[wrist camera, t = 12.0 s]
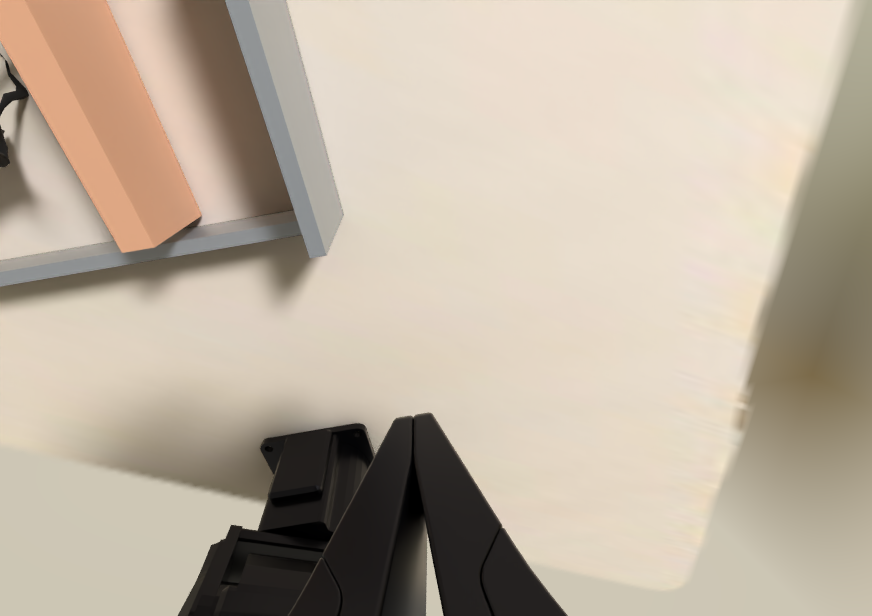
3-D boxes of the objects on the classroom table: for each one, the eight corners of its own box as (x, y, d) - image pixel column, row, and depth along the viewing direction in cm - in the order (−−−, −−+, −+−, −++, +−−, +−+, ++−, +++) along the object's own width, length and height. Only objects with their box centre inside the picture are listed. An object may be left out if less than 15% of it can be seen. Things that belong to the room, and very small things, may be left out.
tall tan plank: (201, 215, 18) (154, 247, 15) (175, 219, 18) (122, 253, 15) (68, -84, 13) (-51, -143, 10) (32, -77, 13) (-100, -134, 10)
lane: (347, 229, 19) (332, 273, 15) (-29, 293, 19) (-154, 355, 15) (233, -195, 12) (143, -343, 8) (-342, -91, 13) (-735, -182, 8)
